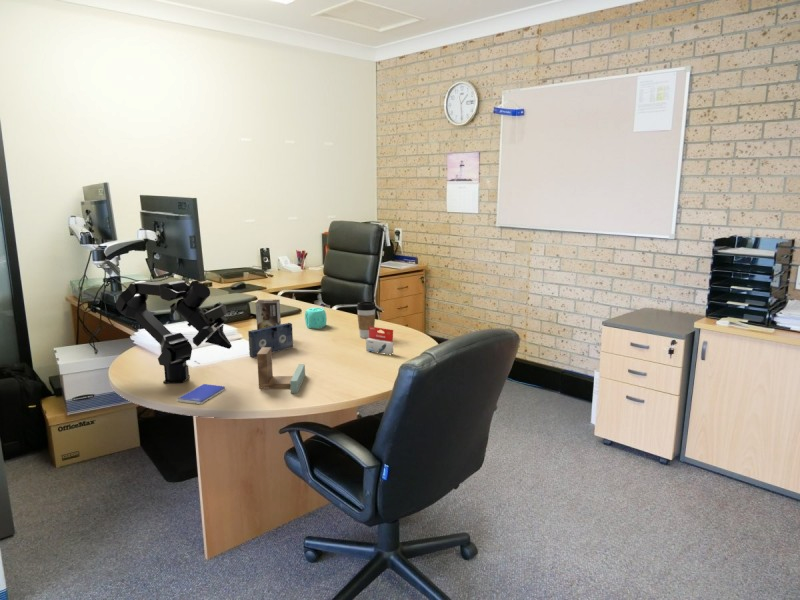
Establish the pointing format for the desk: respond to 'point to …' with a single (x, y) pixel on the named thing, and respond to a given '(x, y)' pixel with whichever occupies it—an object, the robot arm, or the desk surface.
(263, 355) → the bookend
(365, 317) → the coffee cup
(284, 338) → the vhs cassette tape
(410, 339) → the desk surface
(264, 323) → the coffee box
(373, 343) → the ink cartridge box
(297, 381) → the board
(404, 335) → the desk surface
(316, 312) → the decorative dice
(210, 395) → the hard drive
